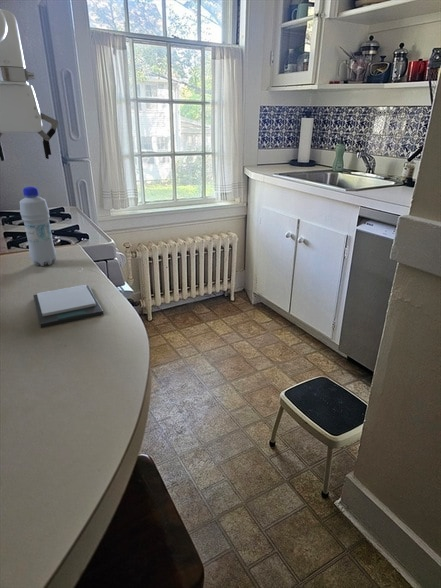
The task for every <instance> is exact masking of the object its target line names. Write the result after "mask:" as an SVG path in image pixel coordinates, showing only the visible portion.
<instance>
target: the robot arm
mask: <svg viewBox="0 0 441 588" xmlns="http://www.w3.org/2000/svg"><path fill="white" fill-rule="evenodd" d="M31 80H35V73H34V72H30V71H28V70H27V67H26V62H25V58H24V52H23V46H22V41H21V35H20V30H19V25H18V21H17V18H16V15H15V14H14V13H13V12H11V11H10V10H6V9H3V8H0V138H1V137H2V136H3V134H34V133H37V134H38V135H39V136H40V137H41V138H42V146H43V151H44V156H45V159H46V160H49V159H50V158H49V156H52V150H51V144H50V140H51V139H52V137H53V136H54V135H55V133H56V131H57V129H58V126H59V121H58V120H57V119H55V118H53V117H51V116H49V115H46V114H44V113H42V112H41V109H40V106H39V102H38V98H37V95H36V92H35V91H36V90H35V89H34V86H33V85H32V84H30V83H29V82H30V81H31ZM43 121H45V122H47V123H49V124H50V129H49V130H48V131H47V132H46V131H44V130H43V127H44V125H43ZM0 161H1V162H4V161H6V156H5V152H4V146H3V142H2V141H0Z"/></svg>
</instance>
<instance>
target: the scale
mask: <svg viewBox="0 0 441 588" xmlns="http://www.w3.org/2000/svg"><path fill="white" fill-rule="evenodd" d="M33 300H34V304H35V309H36V313H37V317H38V322H39V327H40V329H44V328H49V327H54V326H58V325H63V324H68V323H72V322H73V323H74V322H77V321H81V320H86V319H92V318H96V317H101V316H104V315H105V313H104V310H103V308H102V307H101V305H100V303H99V301H98V299H97V298H96V296H95V295H94V293H93V291H92V289H91V287H90V286H89V285H86V284H81V285H76V286H69V287H63V288H58V289H53V290H47V291H41V292H37V293H36V294H33Z"/></svg>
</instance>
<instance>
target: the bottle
mask: <svg viewBox="0 0 441 588" xmlns="http://www.w3.org/2000/svg"><path fill="white" fill-rule="evenodd" d="M22 193H23V197H24V198H22V199H21V200H20V201H19V214H20V217H21V220H22V221H23V224H24V229H25V230H24V231H25V235H26V238H27V245H28V251H29V258H30V260H31V262H32V263H33V265H35V266H36V267H37V266H39V265H40V266H41V267H44V266H45V263H47V265H48V266H51V265H52V264H54V263H56V261H57V251H56V248H55V244H54V240H53V234H52V228H51V223H50V218H51V216H50V209H49V207H48V203H47V200H46V199H45V198H43V197H41V196H40V195H39V190H38V188H37V187H35V186H26V187H24V188H23V189H22Z"/></svg>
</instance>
